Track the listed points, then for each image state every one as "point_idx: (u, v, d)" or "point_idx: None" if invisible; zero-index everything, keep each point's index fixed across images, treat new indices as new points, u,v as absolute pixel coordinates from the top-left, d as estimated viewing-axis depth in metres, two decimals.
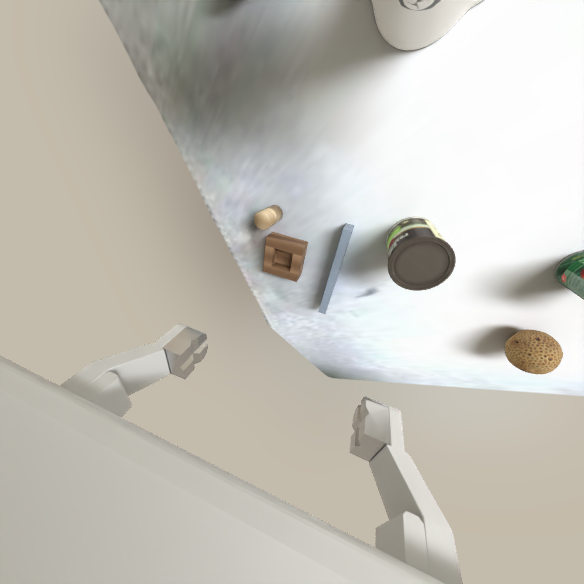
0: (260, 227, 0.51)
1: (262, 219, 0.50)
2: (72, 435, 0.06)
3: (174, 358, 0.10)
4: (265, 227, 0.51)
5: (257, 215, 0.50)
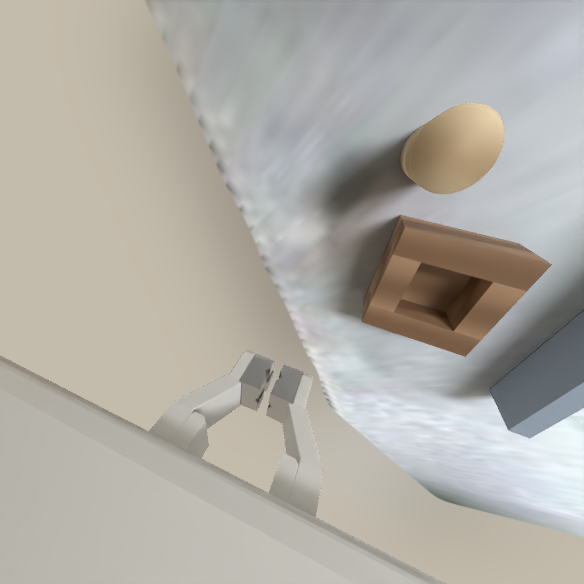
0: (433, 185, 0.13)
1: (460, 145, 0.11)
2: (72, 435, 0.06)
3: (250, 391, 0.09)
4: (460, 183, 0.12)
5: (439, 126, 0.11)
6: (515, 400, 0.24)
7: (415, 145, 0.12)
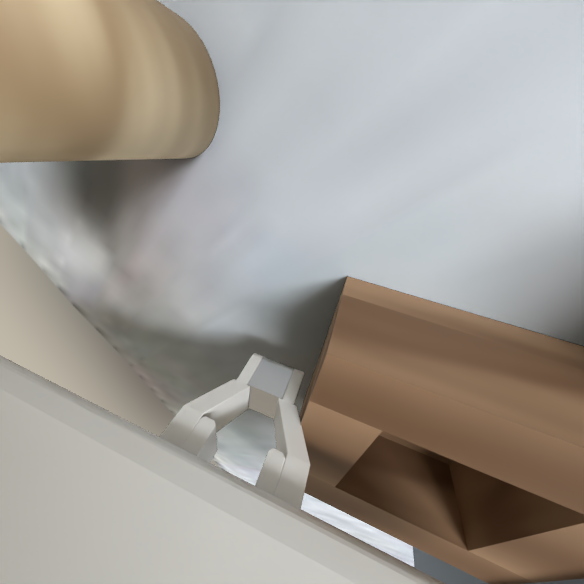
0: None
1: None
2: (72, 435, 0.06)
3: (259, 395, 0.09)
4: None
5: None
6: None
7: None
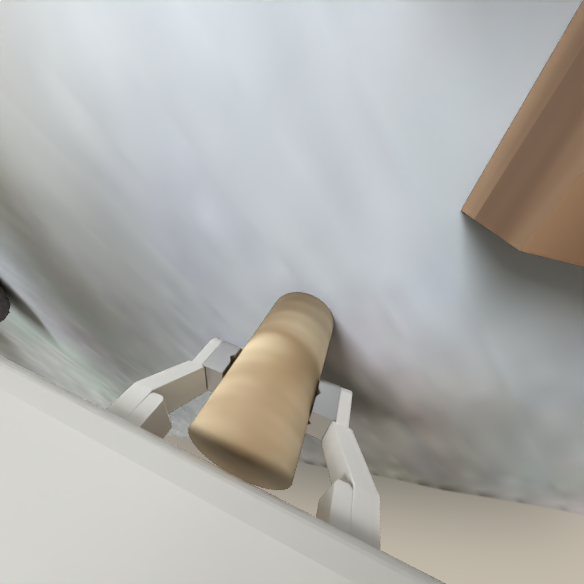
0: (280, 481, 0.07)
1: (228, 452, 0.08)
2: (72, 435, 0.06)
3: (214, 375, 0.09)
4: (275, 463, 0.07)
5: (215, 459, 0.09)
6: None
7: None
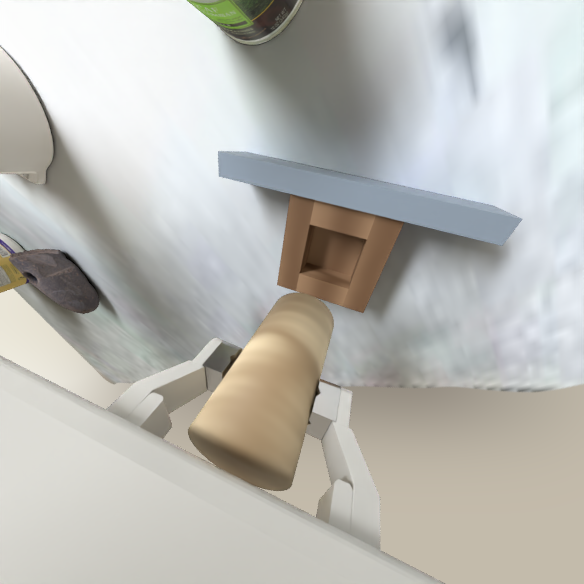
0: (279, 482, 0.07)
1: (228, 453, 0.08)
2: (72, 435, 0.06)
3: (214, 375, 0.09)
4: (275, 464, 0.07)
5: (215, 460, 0.08)
6: None
7: None
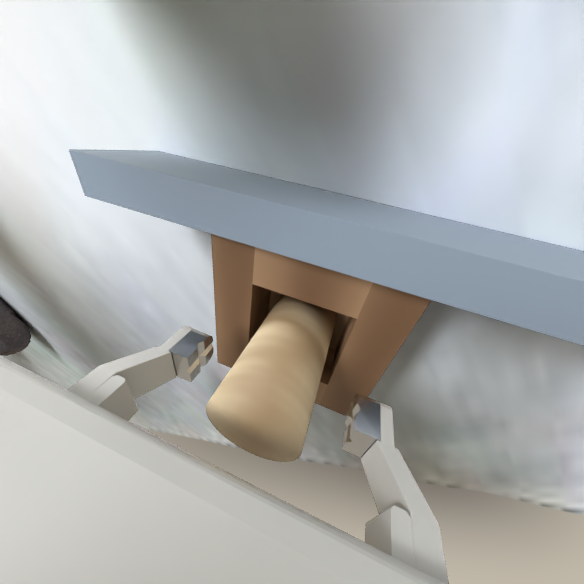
0: (290, 452, 0.08)
1: (243, 426, 0.08)
2: (72, 435, 0.06)
3: (181, 361, 0.10)
4: (286, 433, 0.08)
5: (229, 435, 0.09)
6: None
7: None
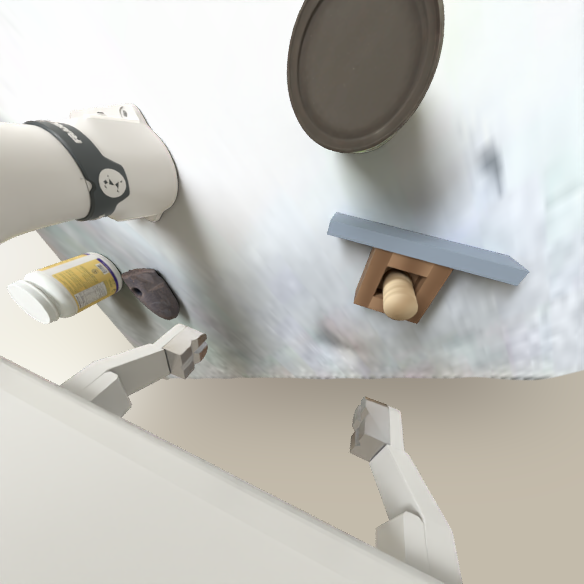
0: (412, 313, 0.28)
1: (397, 306, 0.28)
2: (72, 435, 0.06)
3: (174, 358, 0.10)
4: (414, 305, 0.28)
5: (389, 312, 0.29)
6: None
7: (393, 318, 0.29)
